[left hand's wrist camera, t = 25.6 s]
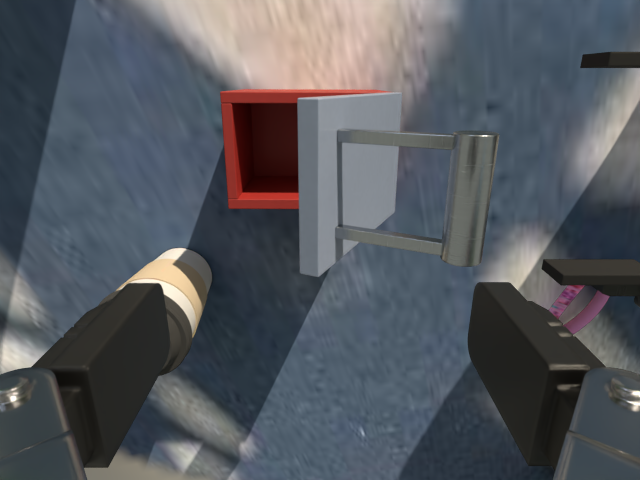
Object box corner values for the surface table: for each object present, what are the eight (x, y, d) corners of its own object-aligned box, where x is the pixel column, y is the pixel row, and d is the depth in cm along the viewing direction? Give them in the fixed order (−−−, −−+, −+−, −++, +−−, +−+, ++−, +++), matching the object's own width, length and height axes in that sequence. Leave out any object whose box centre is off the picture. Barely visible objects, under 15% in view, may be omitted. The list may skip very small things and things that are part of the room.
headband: (559, 340, 55) (568, 350, 53) (533, 327, 54) (541, 337, 52) (617, 270, 51) (629, 278, 49) (590, 256, 51) (601, 263, 49)
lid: (299, 273, 25) (470, 310, 21) (296, 97, 22) (499, 101, 18) (380, 210, 37) (498, 226, 33) (387, 92, 34) (518, 94, 30)
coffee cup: (189, 321, 54) (143, 406, 40) (129, 275, 52) (58, 348, 38) (236, 274, 52) (205, 346, 37) (176, 223, 49) (119, 280, 35)
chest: (248, 181, 48) (228, 209, 38) (243, 89, 45) (220, 91, 34) (372, 182, 48) (386, 209, 38) (376, 89, 45) (393, 92, 34)
